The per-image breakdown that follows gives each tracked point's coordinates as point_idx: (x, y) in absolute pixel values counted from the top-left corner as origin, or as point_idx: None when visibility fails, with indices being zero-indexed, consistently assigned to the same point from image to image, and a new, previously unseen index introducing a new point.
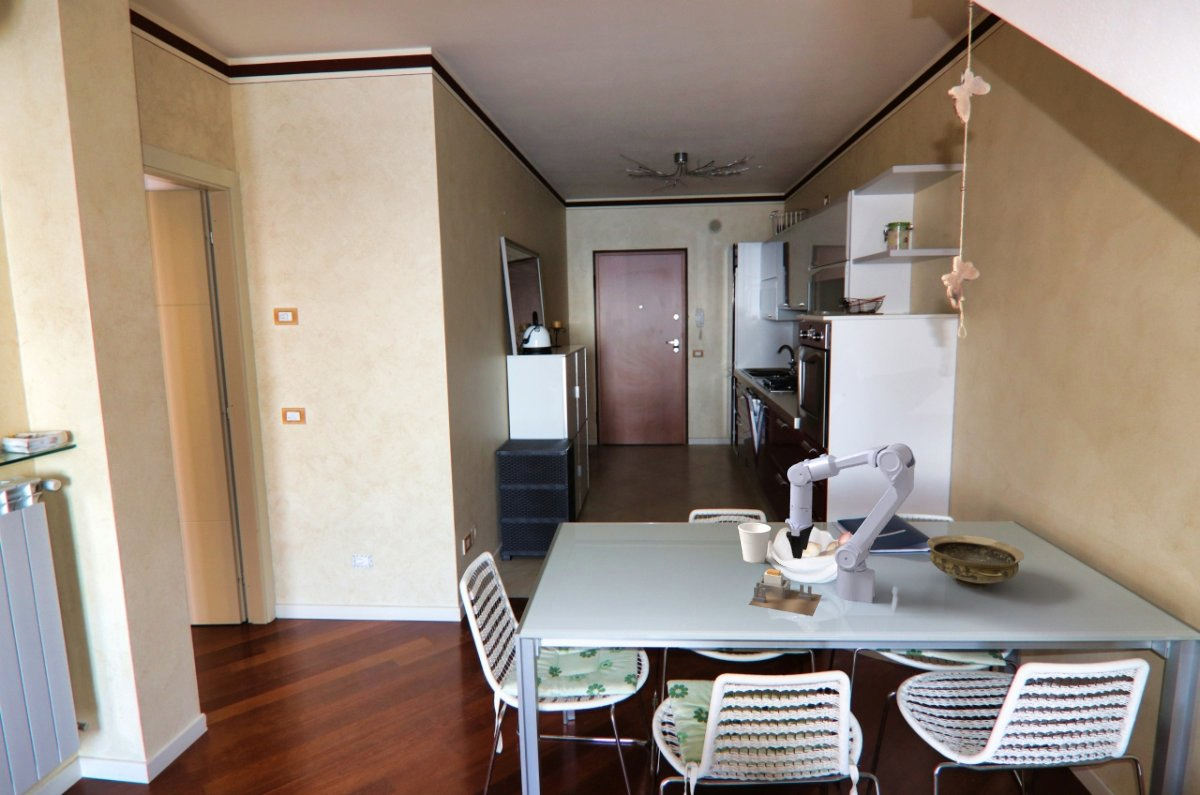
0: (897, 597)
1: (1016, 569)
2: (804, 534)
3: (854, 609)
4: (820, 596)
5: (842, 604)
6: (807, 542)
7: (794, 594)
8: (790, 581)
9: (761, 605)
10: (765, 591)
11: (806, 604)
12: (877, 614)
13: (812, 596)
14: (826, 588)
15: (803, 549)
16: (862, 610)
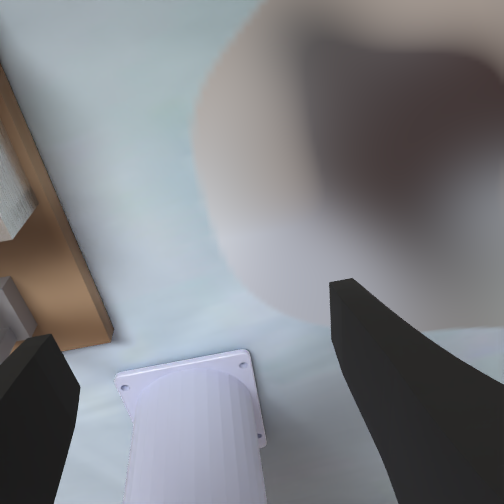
0: (302, 474)
1: None
2: (413, 485)
3: (105, 434)
4: (89, 343)
5: (119, 398)
6: (365, 414)
7: (2, 244)
8: (16, 233)
9: None
10: None
11: None
12: (121, 481)
13: (57, 320)
14: (251, 303)
15: (332, 323)
16: (117, 450)
